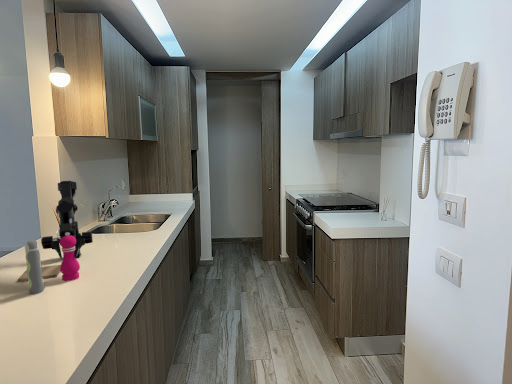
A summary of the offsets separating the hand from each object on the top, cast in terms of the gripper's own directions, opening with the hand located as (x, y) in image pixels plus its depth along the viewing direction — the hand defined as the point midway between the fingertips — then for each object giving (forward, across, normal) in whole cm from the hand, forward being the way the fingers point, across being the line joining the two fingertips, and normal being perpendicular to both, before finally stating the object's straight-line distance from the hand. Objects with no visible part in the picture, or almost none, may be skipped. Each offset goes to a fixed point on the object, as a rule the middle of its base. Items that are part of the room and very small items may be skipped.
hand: (68, 257), depth 135 cm
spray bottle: (+12, -11, +2) cm, 17 cm away
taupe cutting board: (-3, -12, +17) cm, 20 cm away
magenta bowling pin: (+6, 0, +8) cm, 10 cm away
